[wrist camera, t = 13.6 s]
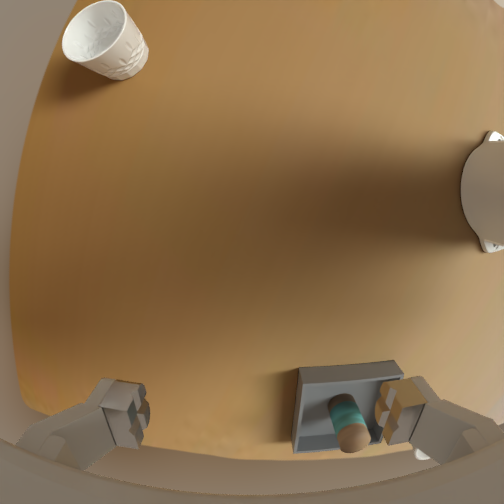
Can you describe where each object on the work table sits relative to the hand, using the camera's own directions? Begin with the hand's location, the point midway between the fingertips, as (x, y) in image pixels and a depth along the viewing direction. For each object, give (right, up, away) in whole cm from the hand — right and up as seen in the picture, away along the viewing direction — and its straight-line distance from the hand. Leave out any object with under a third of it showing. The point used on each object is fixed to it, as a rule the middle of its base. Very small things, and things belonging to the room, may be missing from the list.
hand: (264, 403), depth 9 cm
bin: (+14, -19, +34) cm, 41 cm away
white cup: (-17, +30, +23) cm, 42 cm away
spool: (+14, -19, +34) cm, 41 cm away
